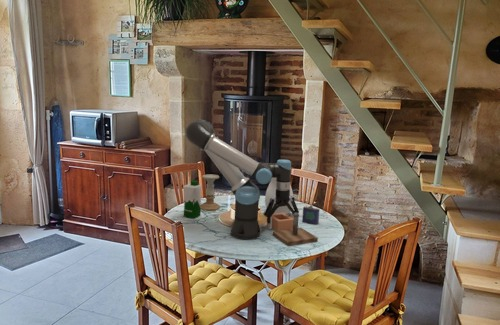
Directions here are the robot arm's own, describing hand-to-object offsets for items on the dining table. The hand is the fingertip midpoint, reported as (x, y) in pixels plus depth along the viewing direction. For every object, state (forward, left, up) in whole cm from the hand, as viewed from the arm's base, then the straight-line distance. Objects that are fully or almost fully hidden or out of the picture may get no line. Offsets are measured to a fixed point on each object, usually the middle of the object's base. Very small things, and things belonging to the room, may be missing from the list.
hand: (280, 227), depth 202 cm
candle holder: (-24, +45, 0) cm, 51 cm away
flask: (+20, +1, 0) cm, 20 cm away
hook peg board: (-1, -16, 0) cm, 16 cm away
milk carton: (-39, +33, 0) cm, 51 cm away
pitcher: (+14, +24, 0) cm, 28 cm away
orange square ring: (0, 0, 0) cm, 0 cm away
